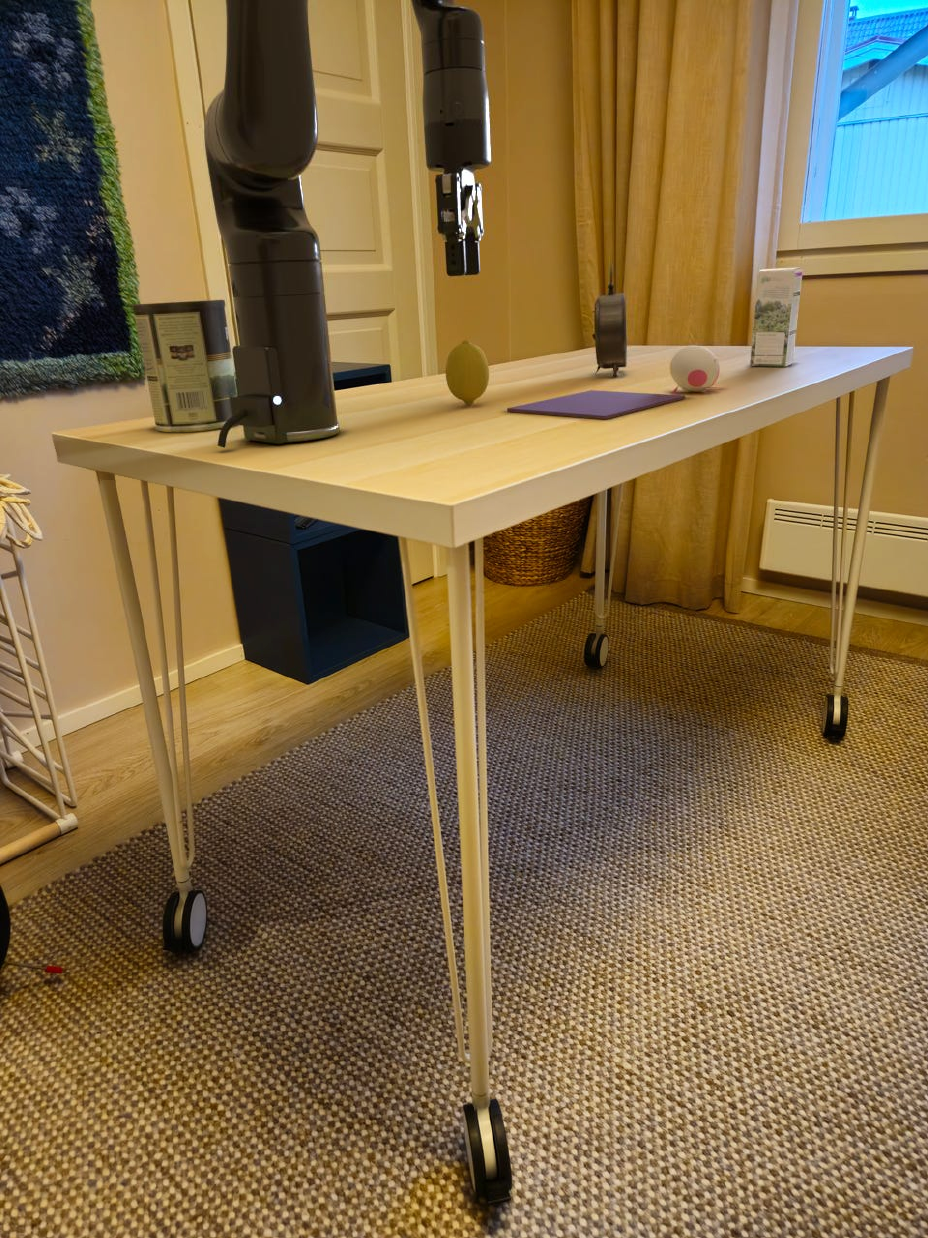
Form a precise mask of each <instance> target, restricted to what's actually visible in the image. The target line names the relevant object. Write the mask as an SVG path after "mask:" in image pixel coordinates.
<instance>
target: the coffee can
mask: <svg viewBox="0 0 928 1238" xmlns="http://www.w3.org/2000/svg"><path fill="white" fill-rule="evenodd" d="M131 308H132V312H133V313H134V318H135V323H136V328H137V333H138V339H139V345H140V349H141V354H142V360H143V365H144V370H145V378H146V381H147V386H148V392H149V397H150V402H151V409H152V413H153V419H154V423H155V428H154V429H155V430H156V431H158V432H163V433H190V432H191V433H192V432H202V431H204V432H205V431H211V430H219V429H222V427H223V425H224V424H225V423H226V422H227V420H229V419H230V418H231V417H232V410H231V403H230V397H236V396H238V388H237V381H236V375H235V368H234V361H233V354H232V349H231V341H230V334H229V330H228V329H229V327H228V321H227V314H226V301H225V299H211V300H192V301H171V302H169V301H168V302H156V303H155V302H154V303H138V304H137V303H136V304H132V305H131Z"/></svg>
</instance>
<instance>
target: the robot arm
mask: <svg viewBox="0 0 928 1238" xmlns="http://www.w3.org/2000/svg"><path fill="white" fill-rule="evenodd" d="M410 3H411V6H412V10H413V14H414V17H415V20H416V23H417V26H418V31H419V34H420V43H421V44H420V47H421V49H420V50H421V61H422V63H421V64H422V97H421V98H422V115H423V117H422V119H423V134H424V135H423V136H424V148H425V165H426V168H427V170H429V171H431V172H436V173H441V174H435V179H434V182H435V195H436V197H435V198H436V215H437V216H436V217H437V229H436V230H437V232H438V234H439V235H441V238H442V241H444V249H445V250H444V252H445V269H446V270H445V271H446V274H447V276H448V277H462V276H478V275H479V274H480V273H481V256H480V242H481V239H482V237H483V236H484V233H485V230H484V223H483V222H484V221H483V202H482V189H483V188H482V185H481V183H480V182H475V176H474V172H475V171H476V170H483V169H486V168H488V167H489V166H490V165H491V163H492V155H491V154H492V153H491V152H492V151H491V126H490V125H491V123H490V97H489V89H488V84H487V83H488V82H487V74H486V55H485V54H486V49H485V30H484V23H483V18H482V17H481V15H480V14H479V12H478V11H477V10H475V9H473V8H471V7H467V6H461V5H457V4H456V0H410ZM225 12H226V55H225V56H226V57H225V71H224V72H225V73H224V85H223V88H222V90H220V92H218V94H216V96H215V97H214V98H213V99H212V100H211V102H210V104H209V105H208V107H207V110H206V113H205V117H204V124H203V126H204V127H203V138H204V139H203V140H204V151H205V158H206V164H207V171H208V177H209V183H210V189H211V190H210V191H211V196H212V201H213V207H214V214H215V219H216V223H217V227H218V231H219V235H220V237H221V239H222V242H223V245H224V247H225V252H226V259H227V265H228V272H229V278H230V286H231V292H232V300H233V308H234V314H235V323H236V329H237V336H238V343H239V344H238V345H234V346H233V347H232V349H231V354H232V361H233V368H234V375H235V382H236V389H237V396H236V397H230V403H231V410H232V417H231V418H230V419H229V420H227V422H226V423H225V424H224V425H223V427H222V428H220V429H221V430H220V432H219V434H218V440H217V446H218V447H220V448H226V445H227V439H228V434H229V433H230V431H231V429H232V428H233V427H234V426H242V430H243V436H244V440H249V441H254V442H255V441H256V442H262V443H269V444H275V445H279V444H285V443H286V444H287V443H294V442H295V443H296V442H306V441H314V440H320V439H325V438H329V437H333V436H335V435H337V434H339V433H340V423H339V421H338V414H337V403H336V393H335V386H334V385H335V384H334V383H335V382H334V374H333V363H332V354H331V353H332V352H331V344H330V343H331V342H330V333H329V325H328V323H329V322H328V316H327V315H328V314H327V305H326V294H325V284H324V275H323V273H324V272H323V265H322V253H321V245H320V238H319V235H318V233H317V231H316V230H315V229H314V228H313V225H311V222H310V221H309V219H308V215H307V213H306V207H305V202H304V194H303V187H302V185H303V184H302V179H301V175H302V174H303V173H305V172H306V170H307V169H308V167H309V166H310V164H311V163H312V160H313V158H314V156H315V155H316V154H315V153H316V151H317V144H318V139H319V118H318V107H317V98H316V89H315V88H316V87H315V80H314V79H315V78H314V69H313V61H312V60H313V59H312V49H311V40H310V39H311V38H310V27H309V26H310V25H309V0H225Z"/></svg>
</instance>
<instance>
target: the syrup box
mask: <svg viewBox="0 0 928 1238" xmlns="http://www.w3.org/2000/svg"><path fill="white" fill-rule="evenodd" d="M802 281H803V268H802V267H800V266H799V267H778V268H762V269H759V270H757V275H756V287H755V288H756V289H755V301H754V311H753V312H754V313H753V325H752V336H751V349H750V361H749V365H750V367H788V366H791V365H792V364H794V360H795V359H794V358H795V348H796V347H795V346H796V335H797V327H798V316H799V310H800V309H799V307H800V301H801V300H800V299H801V292H802V291H801V290H802Z"/></svg>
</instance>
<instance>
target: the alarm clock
mask: <svg viewBox="0 0 928 1238" xmlns="http://www.w3.org/2000/svg"><path fill="white" fill-rule="evenodd" d="M613 267H614V266H613V263H612V264H610V268H609V284H608V285H607V289H608V293H607V294H603V295H600V296H599V297H598V298H596V300H595V302H594V308H593V309H594V310H592V313H593V315H594V317H593V320H594V333H592V334H591V335H592V336H591V337H592V338H593V340H594V345H595V346H594V347H595V359H596V364H597V370H596V371H595V373H594V375H596V374H598V372H599V370H601V369H603V370H607V369H608V370H609V369H612V372H613V374H612V377H613V378H617V377H618V374H617V372H618V371H619V370H620V368H626V367H627V365H628V362H627V361H628V358H627V357H628V349H627V348H628V345H627V344H628V342H627V340H628V339H627V314H626V313H627V308H626V306H627V305H626V294H625V293H624V292H622V293H615V284H614V283H613V269H614V268H613Z"/></svg>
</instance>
